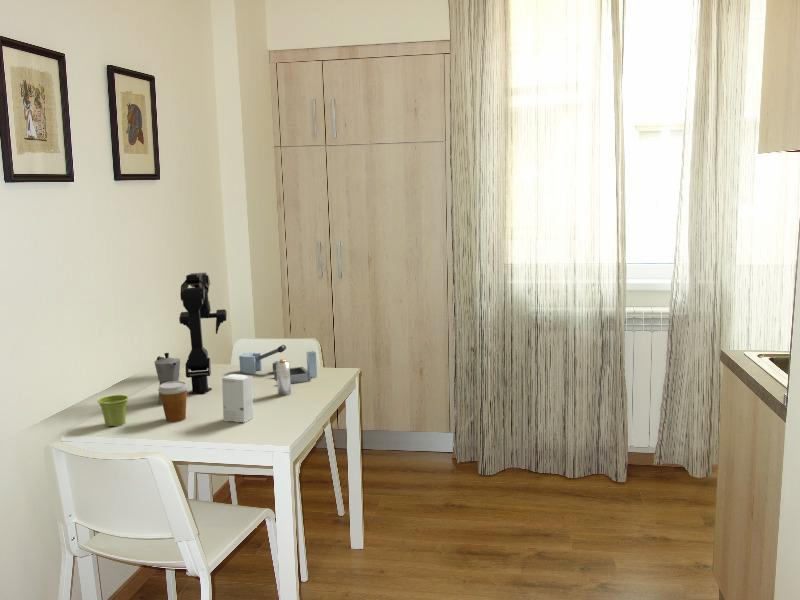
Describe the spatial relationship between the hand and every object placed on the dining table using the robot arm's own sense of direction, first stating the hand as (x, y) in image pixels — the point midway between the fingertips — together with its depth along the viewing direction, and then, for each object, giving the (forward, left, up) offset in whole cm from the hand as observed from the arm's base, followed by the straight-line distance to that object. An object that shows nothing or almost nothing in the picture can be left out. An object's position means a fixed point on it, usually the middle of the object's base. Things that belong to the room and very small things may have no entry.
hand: (205, 334), depth 307 cm
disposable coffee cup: (-63, -21, -16) cm, 68 cm away
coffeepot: (-43, -7, -16) cm, 46 cm away
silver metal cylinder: (-31, -47, -16) cm, 58 cm away
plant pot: (-70, -3, -16) cm, 71 cm away
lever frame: (-1, -25, -16) cm, 29 cm away
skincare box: (-61, -43, -16) cm, 76 cm away
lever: (-1, -29, -9) cm, 31 cm away
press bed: (-9, -44, -16) cm, 47 cm away
